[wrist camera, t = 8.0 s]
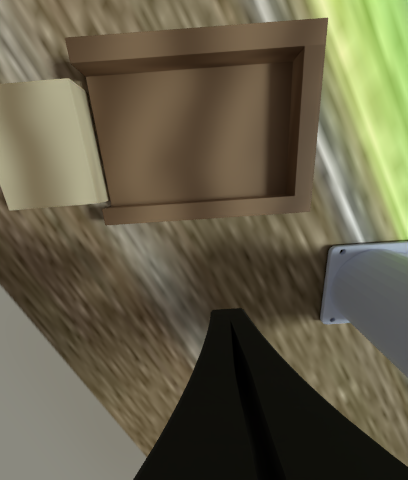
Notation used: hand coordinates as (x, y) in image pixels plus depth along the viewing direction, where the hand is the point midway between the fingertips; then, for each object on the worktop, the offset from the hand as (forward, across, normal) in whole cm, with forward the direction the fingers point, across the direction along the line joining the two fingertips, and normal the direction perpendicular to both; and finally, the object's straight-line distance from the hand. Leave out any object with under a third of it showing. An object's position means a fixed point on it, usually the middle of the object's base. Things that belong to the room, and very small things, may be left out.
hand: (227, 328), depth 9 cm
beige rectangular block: (+10, +12, -9) cm, 18 cm away
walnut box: (+9, 0, -9) cm, 13 cm away
